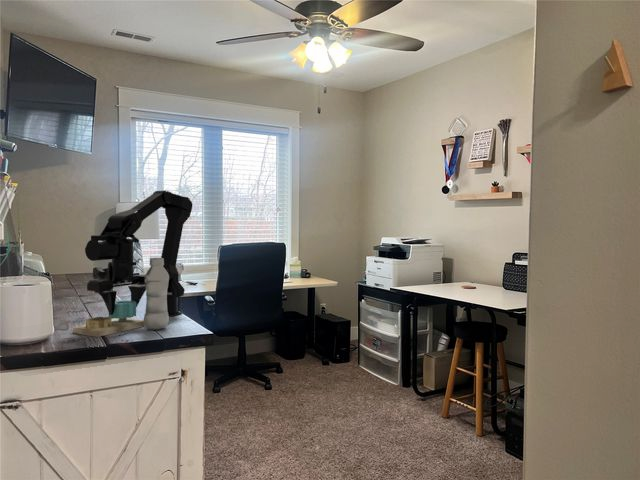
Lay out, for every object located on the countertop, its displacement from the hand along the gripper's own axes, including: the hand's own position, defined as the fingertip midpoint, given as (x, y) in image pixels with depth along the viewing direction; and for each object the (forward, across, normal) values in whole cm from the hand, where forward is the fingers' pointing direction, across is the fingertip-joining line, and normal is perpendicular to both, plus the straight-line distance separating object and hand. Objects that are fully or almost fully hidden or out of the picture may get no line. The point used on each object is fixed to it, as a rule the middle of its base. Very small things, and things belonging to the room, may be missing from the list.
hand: (122, 312), depth 131 cm
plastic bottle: (+4, -2, +11) cm, 12 cm away
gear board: (+4, +4, 0) cm, 6 cm away
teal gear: (+1, 0, 0) cm, 1 cm away
